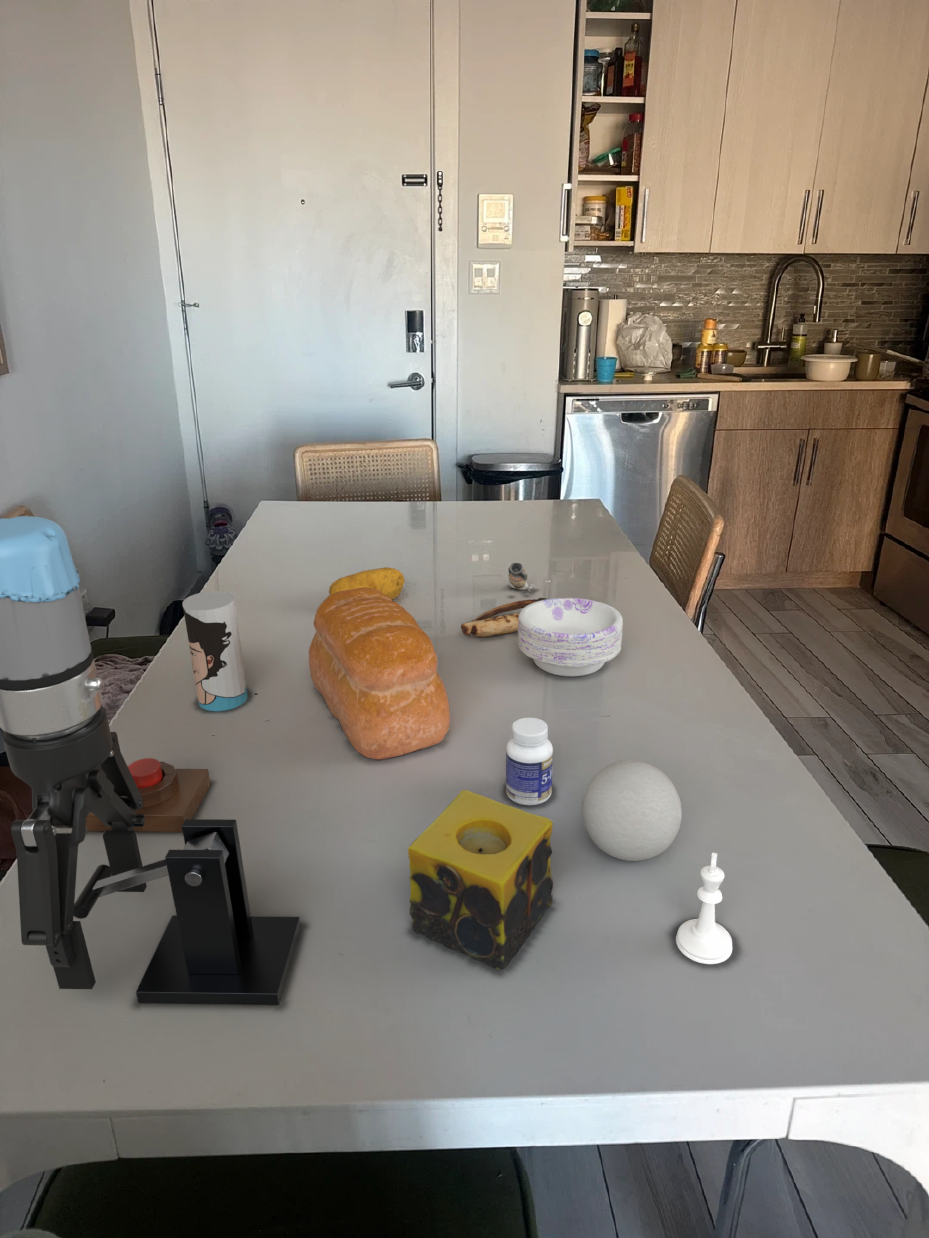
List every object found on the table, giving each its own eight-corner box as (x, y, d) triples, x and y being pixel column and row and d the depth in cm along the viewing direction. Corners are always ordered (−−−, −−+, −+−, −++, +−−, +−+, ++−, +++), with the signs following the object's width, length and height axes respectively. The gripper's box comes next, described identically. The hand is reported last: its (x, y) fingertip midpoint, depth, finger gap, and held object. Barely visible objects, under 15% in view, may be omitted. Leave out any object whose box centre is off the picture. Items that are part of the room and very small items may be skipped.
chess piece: (733, 929, 80) (745, 841, 76) (731, 969, 76) (744, 878, 72) (678, 919, 81) (687, 831, 77) (673, 957, 77) (682, 867, 73)
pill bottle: (550, 808, 97) (551, 740, 94) (503, 804, 98) (503, 737, 95) (553, 781, 102) (554, 715, 99) (508, 778, 103) (508, 712, 99)
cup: (221, 683, 126) (207, 587, 120) (257, 693, 123) (245, 595, 117) (187, 704, 121) (171, 605, 114) (225, 715, 118) (210, 613, 112)
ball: (583, 881, 86) (587, 797, 82) (577, 819, 95) (580, 741, 91) (685, 883, 86) (694, 799, 82) (669, 821, 95) (676, 742, 91)
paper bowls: (592, 635, 139) (594, 589, 136) (639, 676, 126) (642, 626, 122) (502, 650, 134) (502, 602, 131) (541, 695, 121) (542, 643, 118)
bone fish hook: (541, 609, 150) (445, 627, 143) (541, 584, 148) (444, 600, 141) (569, 628, 142) (469, 647, 135) (570, 600, 140) (469, 619, 133)
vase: (526, 600, 153) (526, 568, 150) (497, 595, 155) (497, 564, 152) (537, 589, 157) (537, 558, 155) (509, 585, 159) (509, 554, 157)
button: (124, 789, 96) (121, 775, 95) (136, 770, 99) (133, 757, 99) (156, 789, 96) (153, 775, 95) (167, 770, 99) (164, 757, 98)
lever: (79, 925, 73) (64, 904, 72) (105, 882, 78) (90, 862, 77) (216, 882, 70) (202, 860, 70) (234, 841, 75) (221, 820, 74)
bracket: (138, 1003, 74) (107, 873, 68) (174, 925, 82) (149, 804, 76) (278, 1005, 73) (259, 874, 68) (300, 927, 81) (285, 805, 76)
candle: (464, 868, 88) (462, 786, 84) (554, 902, 84) (557, 817, 80) (408, 932, 80) (402, 845, 76) (504, 974, 76) (503, 883, 72)
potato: (414, 606, 151) (412, 569, 148) (339, 622, 145) (335, 584, 143) (396, 591, 157) (394, 556, 155) (323, 606, 152) (320, 570, 149)
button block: (87, 831, 95) (79, 801, 94) (119, 783, 103) (113, 755, 102) (186, 831, 95) (180, 801, 93) (211, 784, 103) (206, 755, 101)
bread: (390, 661, 132) (385, 567, 126) (461, 744, 110) (458, 635, 104) (303, 679, 127) (293, 582, 121) (359, 771, 105) (349, 658, 99)
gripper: (27, 807, 57) (92, 1047, 66) (154, 650, 78) (190, 848, 87) (-85, 806, 57) (-5, 1045, 66) (72, 651, 78) (117, 848, 87)
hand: (106, 934), depth 77 cm, fingers open, 11 cm apart
